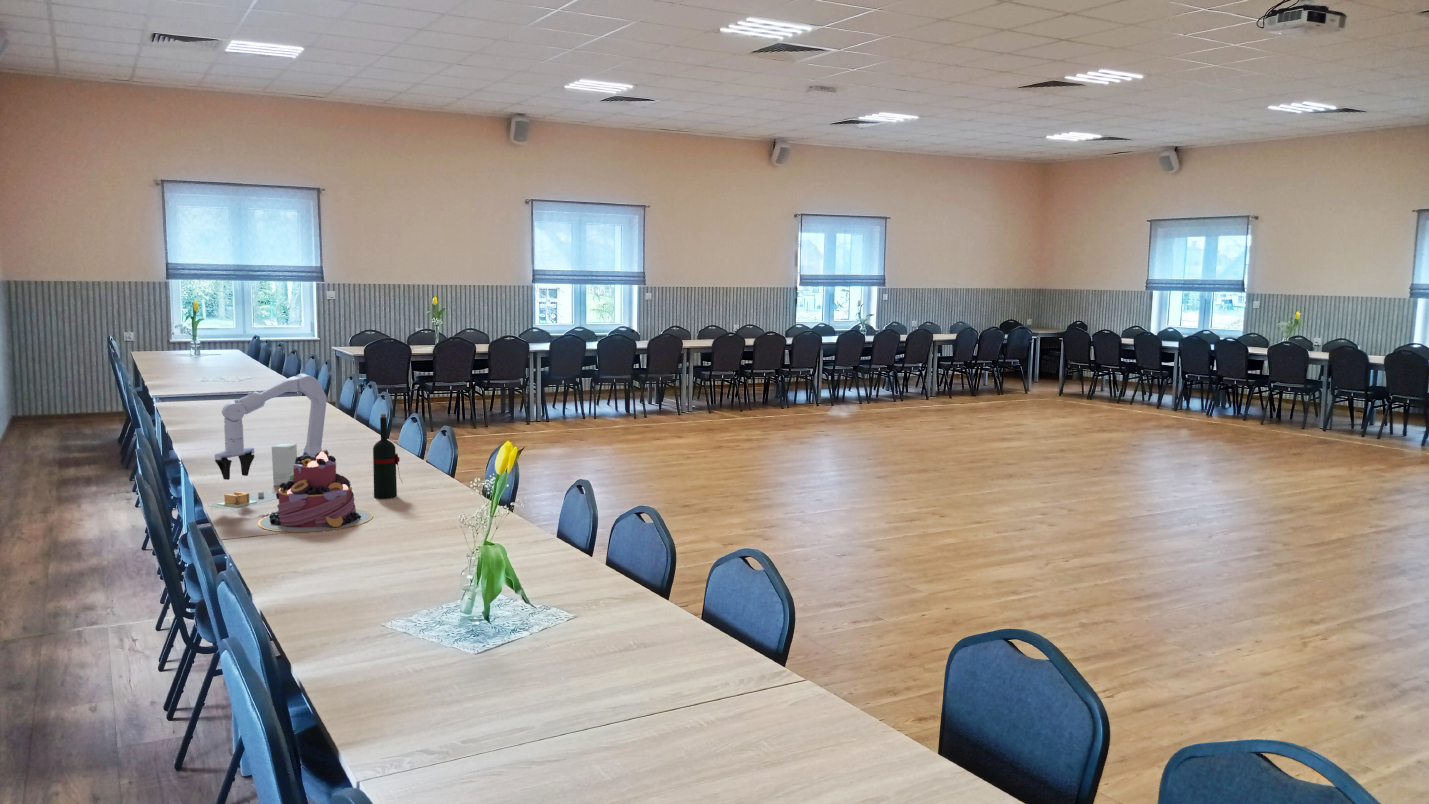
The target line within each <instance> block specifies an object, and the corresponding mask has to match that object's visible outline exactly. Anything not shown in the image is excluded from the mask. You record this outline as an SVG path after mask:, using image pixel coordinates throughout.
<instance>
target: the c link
mask: <svg viewBox="0 0 1429 804" xmlns="http://www.w3.org/2000/svg"><path fill="white" fill-rule="evenodd" d="M223 496H224V502H225V503H227V504H234V505H239V504H244V503H248V502H250V501H249V496H250V493H249V492H242V491H241V492H240V491H234V492H233V494H230V493H225V494H224V495H223Z"/></svg>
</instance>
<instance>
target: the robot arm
mask: <svg viewBox="0 0 1429 804" xmlns="http://www.w3.org/2000/svg"><path fill="white" fill-rule="evenodd" d="M288 392H295V393H299V392H300V393H302V394H304V395H305V396H306V397H307V399H309V400H310V410H309V419H308V427H307V435H306V437H307V438H306V443H305V444H306V445H305V446H304V448H303V452H302V455H301V456H305V455H310V456H311V457H314V456H315V455H316V454H317V453H319V452H321V451H323V450H322V445H323V435H324V426H325V420H326V419H325V417H326V408H327V402H328V401H327V400H328V397H327V395H326V393H325V391H324V389H323V386H322V384H321V382H320V381H319V380H318V379H317V378H316V377H314V376H313V375H308V374H307V373H299V374H296V375H295V376H291V377H288V378H286V379H284V380H282V381H281V382H279V383H276V384H275V385H273V386H271V387H269V388H267V389H265V390H264V391H262V392H258V391H253V392H252V391H249V392H247V395H244V396H243V397H241V398H239V399H238V398H236V399H235V398H234V400H233V401H234V402H231V401H230V402H228V403H226V404H225V405H224V406H223V408H222V410H221V414H222V417H224V418H223V419H224V420H223V422H224V426H223V430H224V450H223V451H221V452H218V453H217V452H216V453H214V461H215V463H216V465H217V466H218V468H219V470H220V473H221V475H222V478H223V480H226V481H228V480H230V478H231V466H232V460H231V459H230V458H235V457H238V459H239V463H240V469H241V470H240V471H241V476H244V477H247V476H249V472H250V468H251V465H252V463H253V461H254V459H255V448H254V447H244V445H245V443H244V441H245V440H244V424H243V418H244V416H245V415H248V414H251V413H253V412H255V411H257V410H259V409H261V408H262V407H264V405H265V404H266V401H269V400H271V399H274V398H275V397H278V396H280V395H283V394H285V393H288Z"/></svg>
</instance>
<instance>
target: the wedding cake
mask: <svg viewBox="0 0 1429 804" xmlns="http://www.w3.org/2000/svg"><path fill="white" fill-rule="evenodd" d="M336 461H337V459H336V458H335V456H334V455H330V453H329V451H328V450H327V449H323V450H322V451H321V452H319V453H317V454H316V455H315V456H314V457H311V456H310V455H305V456H302V455H300V456H297V457H296V460H295V463H294V464H293V469H294V477H293V479H292V480H290V481H288V482H287V483H281V484H280V486H279V489H278V492H277V493H275V494H276V497H277V499H276V500H278V504H277V506H276V507H277V509H278V510H277V511H275V512H273V513H271V514H269V515H266V516H264V517H262V518H260V520H258V522H257V525H258V527H259V528H261V529H263V530H266V531H269V532H276V533H283V532H285V533H286V534H311V533H310V532H315V533H324V532H323V531H326V532H334V531H333V530H335V531H339V530H340V529H341V530H346V529H350V527H351V528H355V527H358V526H361V525H364V524H366V523H369V522H370V521H371V520H372V519H373V518H374V515H373V513H372V512H371V511H369V510H367V509H364V508H359V507H356V504H355V495H354V492H353V491H352V490H353V486H352V484H351V482H350V480H349V479H348V478H347V477H345V476H344V475H341V474H339V473H337V462H336Z"/></svg>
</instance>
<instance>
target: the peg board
mask: <svg viewBox="0 0 1429 804" xmlns="http://www.w3.org/2000/svg"><path fill="white" fill-rule="evenodd" d="M276 494H277V493H272V492H264V491H258V492H257V493H255V494H252V495H249V501H250V502H248V503H244V504H239V505H234V504H227V503H225V501H221V502H217V503H213V504H207V507H212V508H213V507H214V508H219V509H220V508H221V509H226V510H237V509H241V508H246V507H250V506H254V505H259V504H261V503H266V502H271V501H275V500H278V499H277V497H276Z"/></svg>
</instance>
